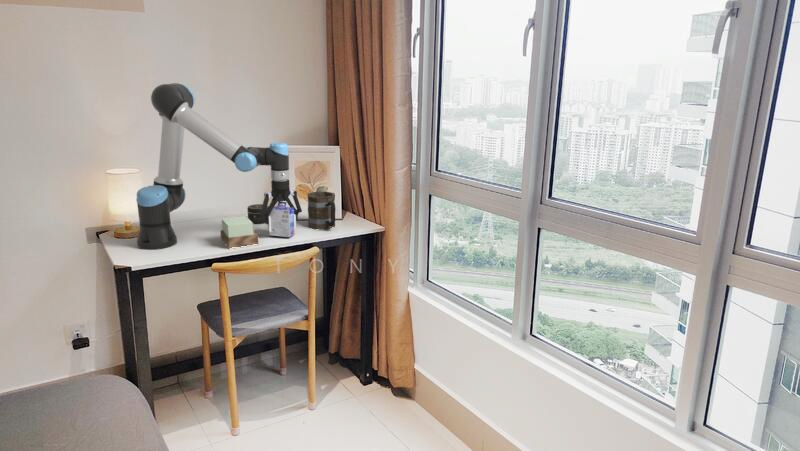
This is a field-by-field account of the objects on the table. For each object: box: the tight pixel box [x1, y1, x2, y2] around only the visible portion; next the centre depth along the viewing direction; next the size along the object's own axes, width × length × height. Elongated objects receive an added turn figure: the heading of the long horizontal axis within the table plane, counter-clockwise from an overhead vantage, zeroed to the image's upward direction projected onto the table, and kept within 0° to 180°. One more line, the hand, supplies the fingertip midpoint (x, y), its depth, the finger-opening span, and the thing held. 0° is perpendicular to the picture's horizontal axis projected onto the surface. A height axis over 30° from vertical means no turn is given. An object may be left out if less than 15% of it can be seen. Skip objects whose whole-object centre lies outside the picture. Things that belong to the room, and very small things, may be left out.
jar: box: [246, 203, 269, 225], centre depth 266 cm, size 10×10×8 cm
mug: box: [307, 191, 337, 230], centre depth 257 cm, size 20×14×15 cm
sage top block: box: [221, 215, 254, 238], centre depth 233 cm, size 10×12×5 cm
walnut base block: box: [220, 229, 259, 249], centre depth 234 cm, size 12×13×5 cm
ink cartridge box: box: [268, 201, 295, 238], centre depth 242 cm, size 10×6×14 cm, turn 79°
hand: (281, 229), depth 243 cm, fingers closed on ink cartridge box, 10 cm apart
